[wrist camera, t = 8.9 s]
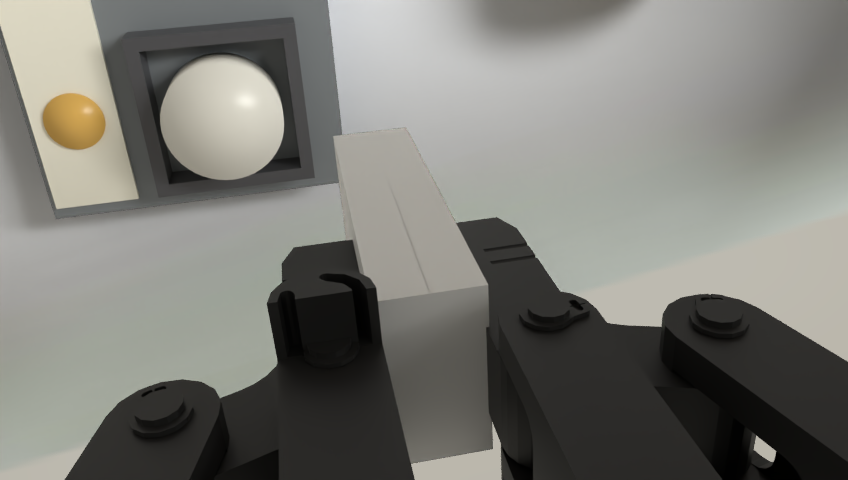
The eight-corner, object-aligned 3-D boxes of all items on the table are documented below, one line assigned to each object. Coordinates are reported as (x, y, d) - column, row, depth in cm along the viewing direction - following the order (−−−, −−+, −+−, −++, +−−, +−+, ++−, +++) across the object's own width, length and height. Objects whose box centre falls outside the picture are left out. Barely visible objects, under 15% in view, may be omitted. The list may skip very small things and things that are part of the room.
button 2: (273, 46, 28) (274, 58, 26) (289, 155, 30) (291, 172, 28) (154, 58, 27) (147, 70, 26) (178, 168, 29) (173, 186, 28)
